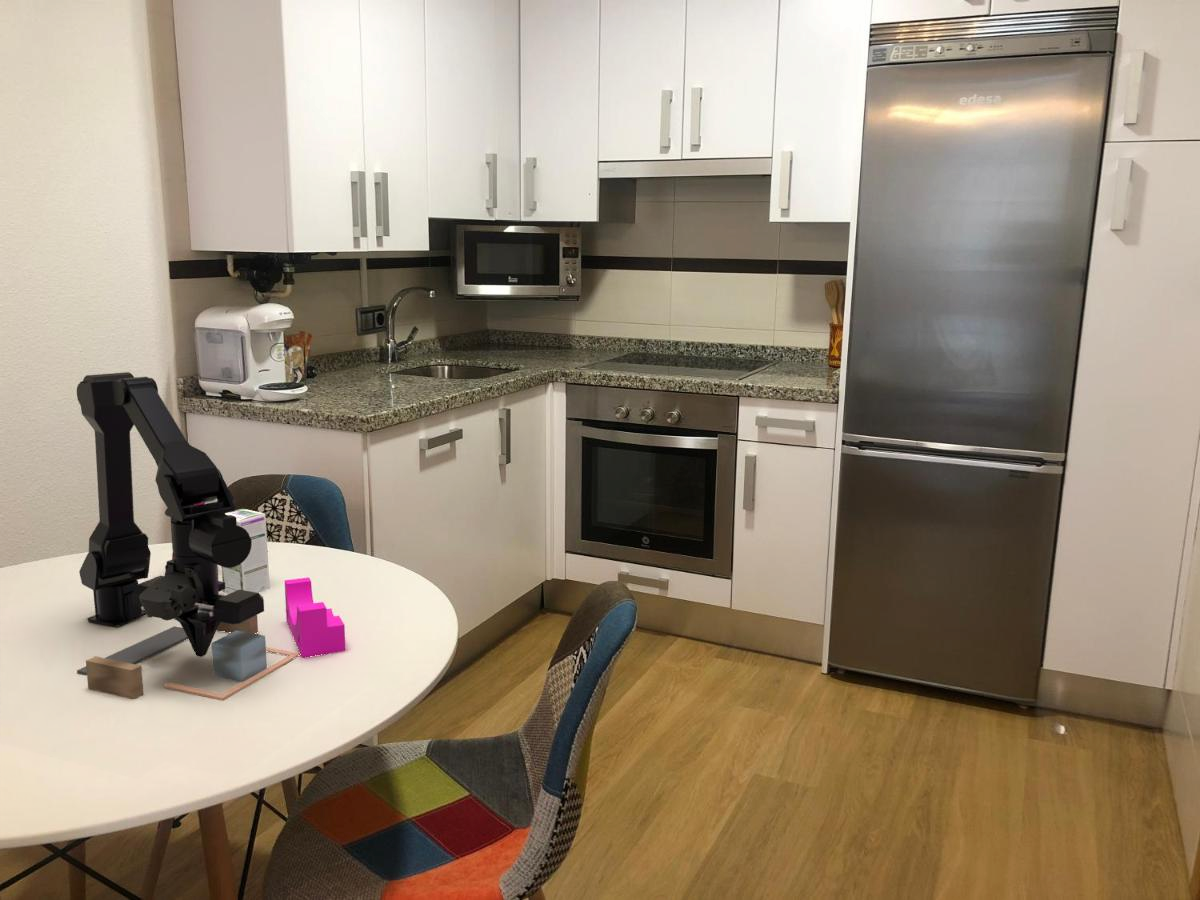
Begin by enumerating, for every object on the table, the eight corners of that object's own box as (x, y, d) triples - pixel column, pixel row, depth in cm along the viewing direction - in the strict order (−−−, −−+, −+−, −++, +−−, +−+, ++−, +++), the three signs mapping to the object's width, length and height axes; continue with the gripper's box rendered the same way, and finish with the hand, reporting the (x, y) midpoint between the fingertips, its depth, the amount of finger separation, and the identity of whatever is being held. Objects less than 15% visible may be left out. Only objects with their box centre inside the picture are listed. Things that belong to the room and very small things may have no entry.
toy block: (345, 653, 145) (343, 605, 143) (302, 660, 142) (299, 611, 141) (326, 619, 158) (324, 575, 157) (286, 625, 155) (284, 580, 154)
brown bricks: (88, 688, 131) (85, 660, 131) (216, 627, 154) (215, 602, 153) (133, 698, 129) (131, 670, 128) (258, 634, 151) (256, 610, 150)
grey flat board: (77, 673, 136) (76, 670, 136) (174, 628, 153) (174, 626, 153) (104, 678, 134) (104, 676, 134) (199, 633, 151) (199, 631, 151)
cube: (213, 676, 136) (211, 643, 135) (238, 663, 141) (236, 630, 140) (242, 682, 134) (240, 648, 133) (266, 668, 139) (265, 635, 138)
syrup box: (271, 593, 169) (267, 512, 167) (243, 602, 165) (238, 519, 162) (250, 586, 172) (245, 507, 170) (221, 596, 168) (216, 514, 165)
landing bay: (163, 687, 132) (163, 685, 132) (245, 645, 147) (245, 643, 147) (223, 700, 129) (222, 698, 129) (300, 655, 143) (300, 653, 143)
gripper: (96, 558, 132) (105, 666, 135) (206, 577, 126) (213, 690, 129) (159, 537, 143) (166, 637, 146) (264, 553, 136) (269, 658, 139)
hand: (201, 655), depth 140 cm, fingers closed
